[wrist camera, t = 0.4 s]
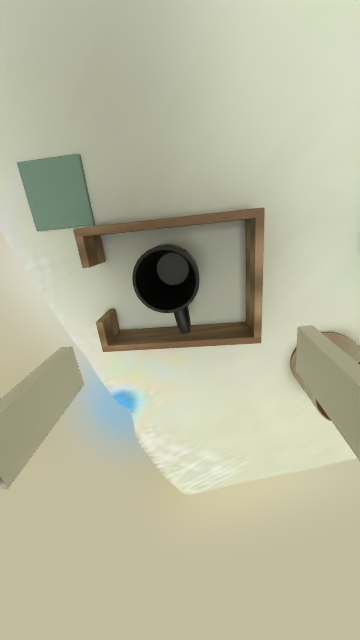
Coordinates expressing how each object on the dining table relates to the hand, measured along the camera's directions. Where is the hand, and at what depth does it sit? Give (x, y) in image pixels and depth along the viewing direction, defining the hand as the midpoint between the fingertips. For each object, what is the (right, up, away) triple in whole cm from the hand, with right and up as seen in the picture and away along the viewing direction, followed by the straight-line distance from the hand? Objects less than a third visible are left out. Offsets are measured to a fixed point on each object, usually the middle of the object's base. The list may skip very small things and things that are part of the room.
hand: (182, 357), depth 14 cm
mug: (-1, +9, +24) cm, 26 cm away
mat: (-18, +21, +21) cm, 34 cm away
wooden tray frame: (-1, +9, +24) cm, 26 cm away
